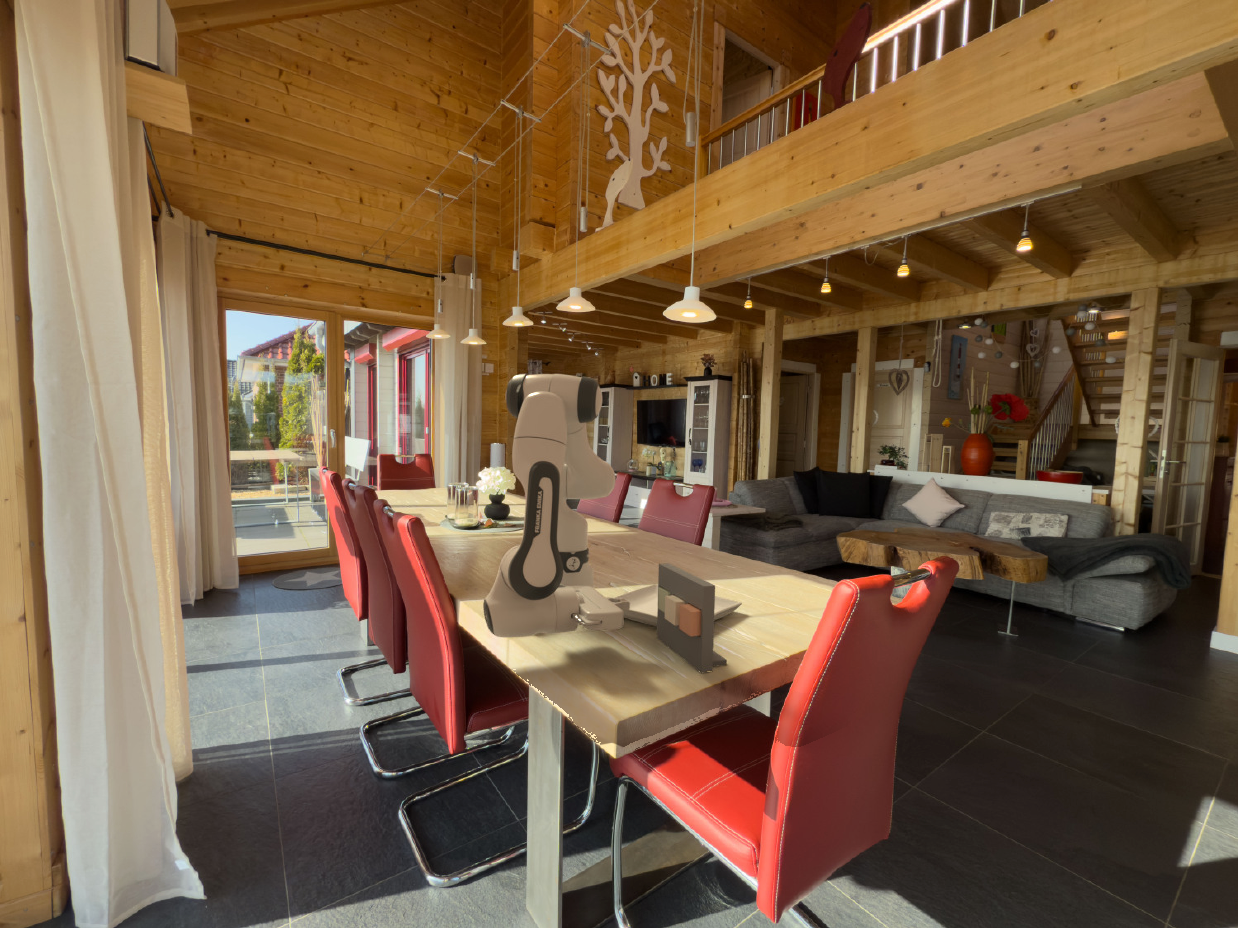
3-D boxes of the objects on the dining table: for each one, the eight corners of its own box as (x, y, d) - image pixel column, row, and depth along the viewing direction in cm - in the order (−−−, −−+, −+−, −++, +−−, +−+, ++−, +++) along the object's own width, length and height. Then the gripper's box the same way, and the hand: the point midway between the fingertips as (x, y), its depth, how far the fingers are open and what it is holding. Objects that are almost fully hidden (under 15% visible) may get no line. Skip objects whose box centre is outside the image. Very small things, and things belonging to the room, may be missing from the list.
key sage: (658, 608, 125) (658, 587, 124) (674, 606, 126) (674, 585, 126) (667, 614, 120) (668, 593, 120) (684, 613, 122) (684, 591, 121)
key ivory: (664, 618, 118) (665, 595, 118) (681, 616, 119) (681, 594, 119) (674, 625, 113) (675, 602, 113) (692, 623, 115) (692, 600, 115)
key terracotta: (679, 628, 112) (679, 604, 112) (696, 626, 113) (697, 603, 113) (690, 636, 107) (691, 612, 107) (708, 634, 109) (709, 610, 109)
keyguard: (656, 637, 126) (658, 563, 125) (684, 634, 129) (686, 561, 128) (701, 673, 107) (703, 586, 107) (732, 668, 110) (735, 583, 109)
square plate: (691, 643, 124) (691, 625, 124) (597, 616, 141) (597, 601, 141) (742, 614, 146) (743, 599, 146) (655, 594, 162) (656, 581, 162)
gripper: (581, 609, 104) (648, 602, 109) (552, 582, 123) (610, 578, 128) (580, 642, 104) (647, 634, 109) (551, 610, 123) (610, 605, 128)
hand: (627, 603), depth 119 cm, fingers closed
